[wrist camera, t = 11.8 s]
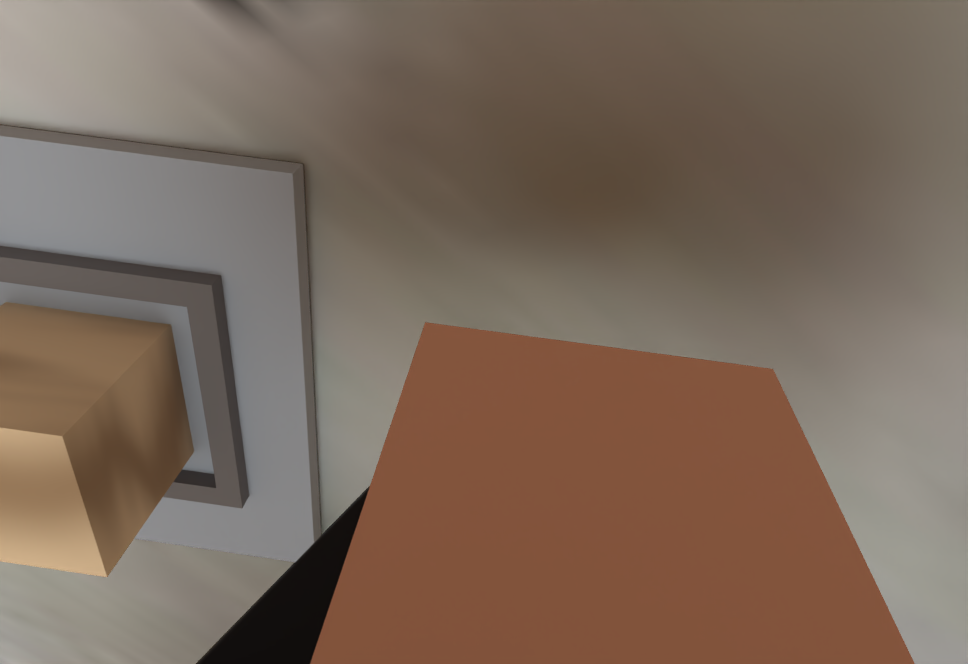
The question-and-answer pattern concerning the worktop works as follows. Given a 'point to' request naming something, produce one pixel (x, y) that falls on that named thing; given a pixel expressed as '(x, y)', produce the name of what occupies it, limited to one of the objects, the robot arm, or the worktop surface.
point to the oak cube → (84, 434)
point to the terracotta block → (598, 518)
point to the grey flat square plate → (186, 311)
